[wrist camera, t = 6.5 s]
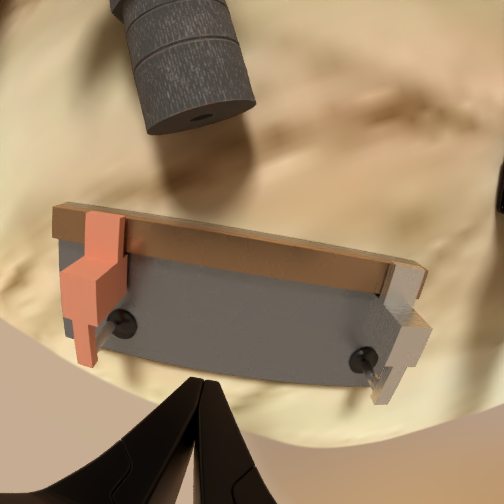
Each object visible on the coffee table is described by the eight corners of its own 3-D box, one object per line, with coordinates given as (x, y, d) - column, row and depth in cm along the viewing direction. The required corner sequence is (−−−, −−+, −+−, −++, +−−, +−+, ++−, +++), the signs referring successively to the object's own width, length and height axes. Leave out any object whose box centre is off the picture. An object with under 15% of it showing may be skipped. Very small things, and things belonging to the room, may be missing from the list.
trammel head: (130, 213, 17) (96, 230, 13) (126, 332, 19) (101, 370, 15) (98, 208, 17) (58, 223, 13) (98, 325, 19) (69, 360, 15)
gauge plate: (415, 258, 19) (459, 289, 14) (370, 377, 22) (393, 425, 17) (68, 199, 18) (17, 214, 13) (72, 328, 21) (37, 368, 16)
